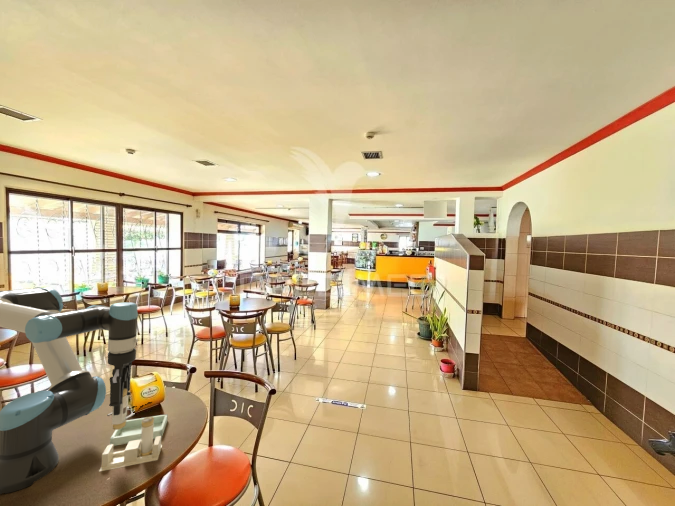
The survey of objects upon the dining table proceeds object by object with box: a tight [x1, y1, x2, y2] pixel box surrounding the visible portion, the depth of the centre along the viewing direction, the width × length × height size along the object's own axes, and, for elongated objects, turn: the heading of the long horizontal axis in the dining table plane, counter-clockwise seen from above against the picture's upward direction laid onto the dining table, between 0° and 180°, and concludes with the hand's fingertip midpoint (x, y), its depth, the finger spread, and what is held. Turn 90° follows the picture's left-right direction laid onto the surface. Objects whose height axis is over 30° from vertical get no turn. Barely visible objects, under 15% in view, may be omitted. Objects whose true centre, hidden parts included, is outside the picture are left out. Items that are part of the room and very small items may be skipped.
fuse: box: [140, 416, 154, 457], centre depth 98 cm, size 4×4×12 cm
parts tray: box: [109, 413, 169, 447], centre depth 109 cm, size 16×11×4 cm
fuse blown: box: [112, 388, 128, 431], centre depth 95 cm, size 4×4×12 cm
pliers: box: [107, 405, 135, 420], centre depth 126 cm, size 10×2×15 cm
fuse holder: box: [98, 436, 163, 472], centre depth 96 cm, size 16×8×5 cm, turn 111°
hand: (119, 419), depth 95 cm, fingers closed on fuse blown, 3 cm apart
